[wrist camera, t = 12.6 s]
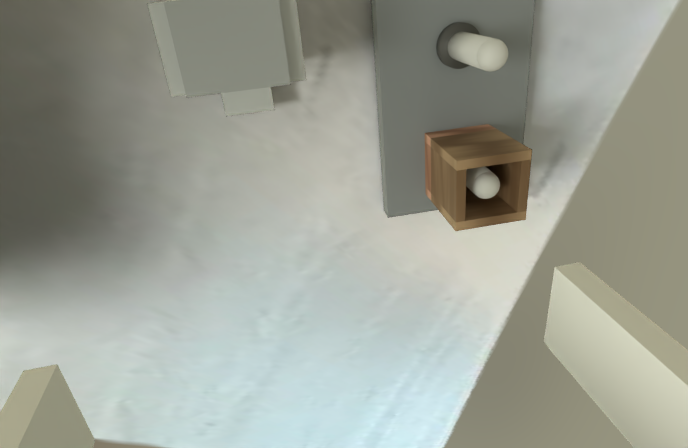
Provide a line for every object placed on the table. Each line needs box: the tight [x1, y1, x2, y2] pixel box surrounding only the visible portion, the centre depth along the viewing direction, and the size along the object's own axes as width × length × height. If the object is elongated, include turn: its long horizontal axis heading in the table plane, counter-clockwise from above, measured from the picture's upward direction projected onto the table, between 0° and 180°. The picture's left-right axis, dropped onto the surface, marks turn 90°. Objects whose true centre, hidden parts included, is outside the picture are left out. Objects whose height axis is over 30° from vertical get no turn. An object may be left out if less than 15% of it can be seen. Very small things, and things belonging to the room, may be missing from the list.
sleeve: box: [425, 124, 532, 231], centre depth 37 cm, size 5×5×7 cm
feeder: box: [147, 0, 306, 116], centre depth 31 cm, size 8×8×9 cm
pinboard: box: [371, 0, 535, 218], centre depth 35 cm, size 12×18×8 cm, turn 5°
